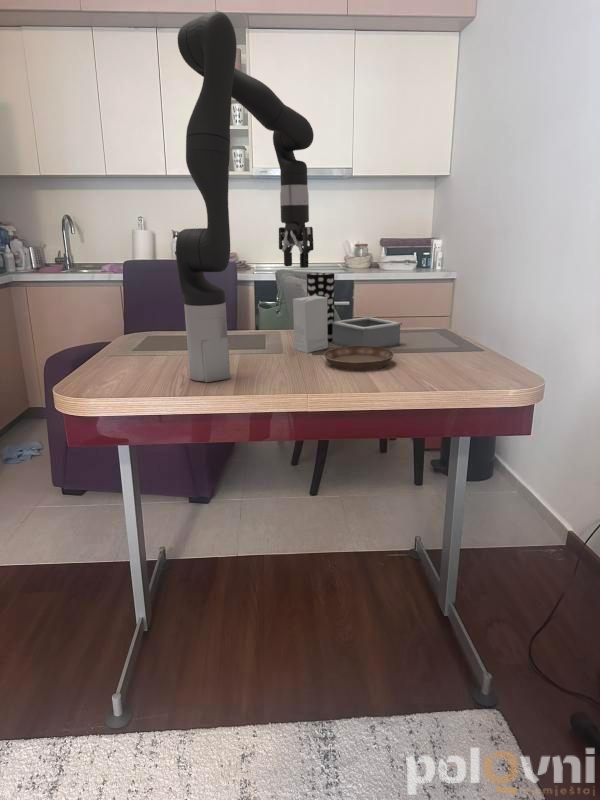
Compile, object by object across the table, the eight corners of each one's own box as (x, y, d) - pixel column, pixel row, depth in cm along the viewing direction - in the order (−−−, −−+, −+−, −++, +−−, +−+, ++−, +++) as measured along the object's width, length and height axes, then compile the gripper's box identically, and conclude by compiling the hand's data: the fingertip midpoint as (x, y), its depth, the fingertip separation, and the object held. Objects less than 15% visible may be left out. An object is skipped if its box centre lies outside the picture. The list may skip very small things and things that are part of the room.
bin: (401, 345, 157) (401, 322, 155) (362, 351, 149) (363, 328, 147) (368, 337, 168) (368, 316, 166) (331, 343, 161) (331, 321, 159)
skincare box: (315, 346, 158) (314, 294, 153) (328, 349, 153) (328, 296, 149) (292, 350, 152) (291, 297, 148) (306, 353, 148) (305, 299, 144)
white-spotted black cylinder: (334, 342, 162) (335, 274, 156) (307, 342, 162) (306, 275, 156) (333, 337, 170) (333, 272, 164) (307, 337, 170) (306, 273, 164)
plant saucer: (345, 376, 125) (345, 364, 124) (311, 361, 140) (311, 350, 139) (407, 367, 132) (408, 355, 131) (369, 354, 147) (369, 343, 146)
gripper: (321, 202, 138) (321, 267, 143) (292, 205, 150) (294, 264, 155) (296, 202, 134) (297, 269, 139) (269, 205, 146) (271, 266, 151)
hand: (296, 266), depth 147 cm, fingers open, 8 cm apart
